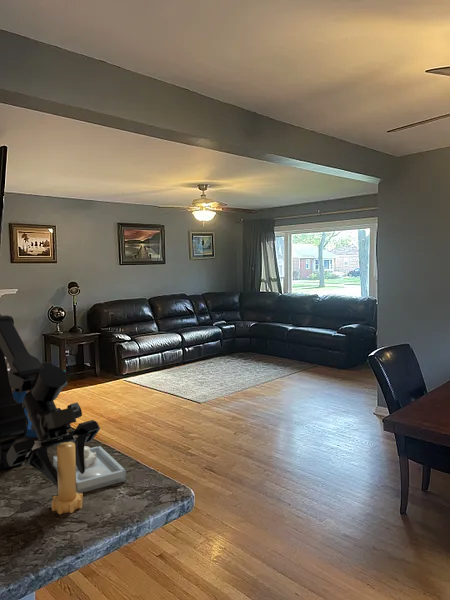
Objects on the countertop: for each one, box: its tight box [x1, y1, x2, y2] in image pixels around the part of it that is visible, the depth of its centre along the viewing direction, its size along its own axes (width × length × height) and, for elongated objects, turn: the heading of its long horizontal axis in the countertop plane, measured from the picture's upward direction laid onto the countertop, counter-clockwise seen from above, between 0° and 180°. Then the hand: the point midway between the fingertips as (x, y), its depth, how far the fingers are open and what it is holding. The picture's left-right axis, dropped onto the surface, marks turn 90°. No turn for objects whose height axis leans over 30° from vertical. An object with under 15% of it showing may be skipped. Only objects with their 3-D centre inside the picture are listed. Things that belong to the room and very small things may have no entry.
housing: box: [52, 445, 127, 494], centre depth 111 cm, size 18×12×5 cm, turn 34°
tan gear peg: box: [51, 442, 84, 515], centre depth 96 cm, size 6×6×13 cm
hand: (70, 477), depth 95 cm, fingers open, 6 cm apart
